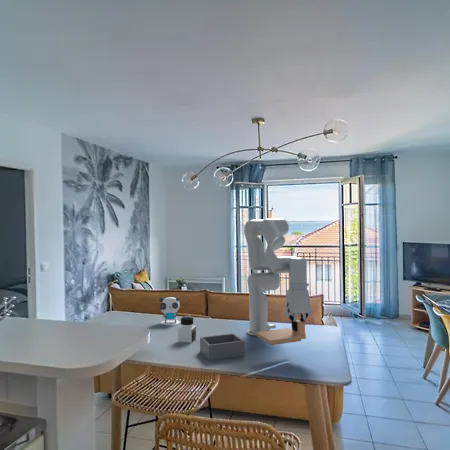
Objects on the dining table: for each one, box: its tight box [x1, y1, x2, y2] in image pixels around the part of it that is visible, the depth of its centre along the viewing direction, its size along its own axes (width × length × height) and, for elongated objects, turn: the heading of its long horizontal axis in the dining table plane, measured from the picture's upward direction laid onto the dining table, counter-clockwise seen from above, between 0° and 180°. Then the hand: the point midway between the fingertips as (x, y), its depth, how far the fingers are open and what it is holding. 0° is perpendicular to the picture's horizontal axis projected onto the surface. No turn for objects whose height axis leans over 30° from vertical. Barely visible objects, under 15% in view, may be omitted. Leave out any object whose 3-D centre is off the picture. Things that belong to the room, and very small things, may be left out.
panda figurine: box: [158, 296, 181, 326], centre depth 206 cm, size 12×11×15 cm
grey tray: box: [199, 332, 245, 362], centre depth 152 cm, size 16×12×7 cm
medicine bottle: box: [177, 315, 197, 344], centre depth 171 cm, size 7×7×12 cm
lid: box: [255, 319, 307, 346], centre depth 146 cm, size 19×13×7 cm, turn 111°
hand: (298, 329), depth 149 cm, fingers closed on lid, 3 cm apart
